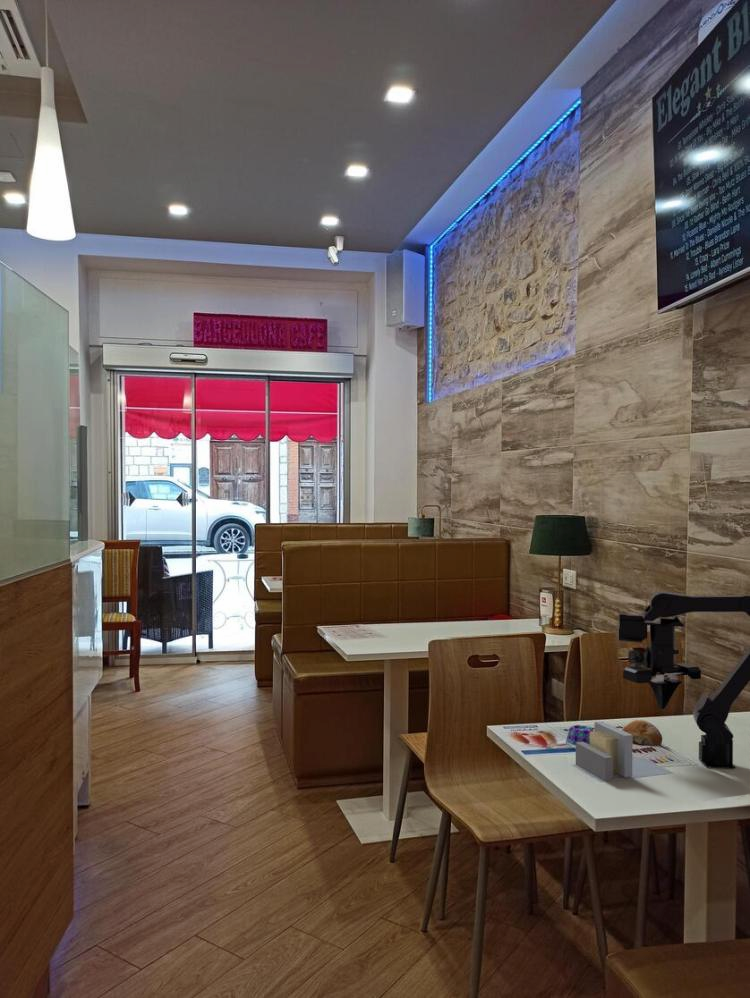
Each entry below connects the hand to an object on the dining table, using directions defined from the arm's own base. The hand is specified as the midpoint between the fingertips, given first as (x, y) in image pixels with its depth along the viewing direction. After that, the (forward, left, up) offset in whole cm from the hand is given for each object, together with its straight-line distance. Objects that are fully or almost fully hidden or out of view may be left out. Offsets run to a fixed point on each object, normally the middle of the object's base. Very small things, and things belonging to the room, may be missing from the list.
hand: (661, 708), depth 179 cm
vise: (+12, +13, -12) cm, 21 cm away
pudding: (+18, -6, -12) cm, 23 cm away
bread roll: (+2, -10, -12) cm, 16 cm away
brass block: (+16, +15, -10) cm, 25 cm away
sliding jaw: (+14, +14, -10) cm, 23 cm away
